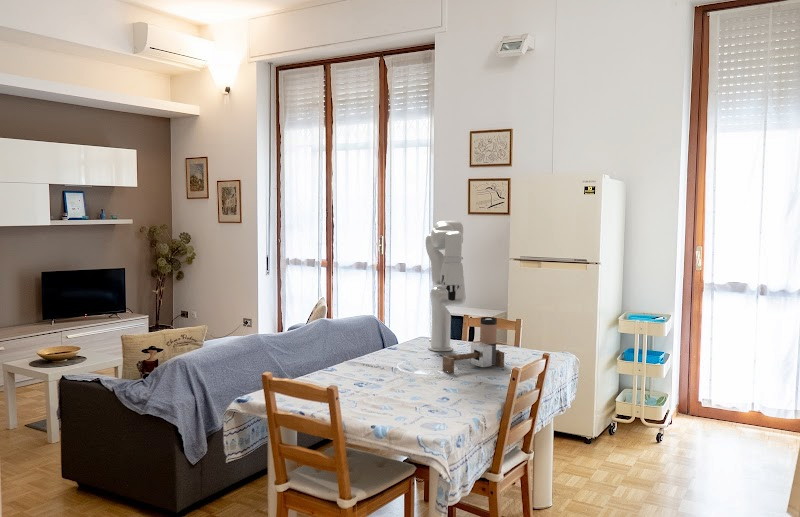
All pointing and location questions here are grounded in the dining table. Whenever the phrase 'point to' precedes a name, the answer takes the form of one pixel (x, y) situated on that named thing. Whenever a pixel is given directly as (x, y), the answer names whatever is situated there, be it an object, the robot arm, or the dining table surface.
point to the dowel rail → (449, 360)
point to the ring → (493, 353)
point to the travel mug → (488, 330)
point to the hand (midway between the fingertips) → (451, 299)
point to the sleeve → (482, 354)
